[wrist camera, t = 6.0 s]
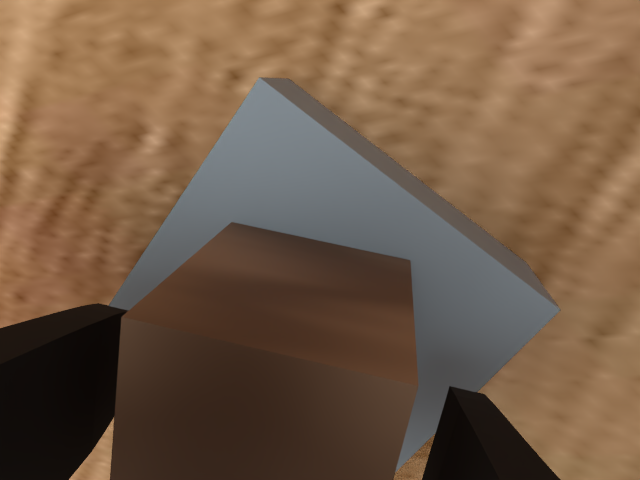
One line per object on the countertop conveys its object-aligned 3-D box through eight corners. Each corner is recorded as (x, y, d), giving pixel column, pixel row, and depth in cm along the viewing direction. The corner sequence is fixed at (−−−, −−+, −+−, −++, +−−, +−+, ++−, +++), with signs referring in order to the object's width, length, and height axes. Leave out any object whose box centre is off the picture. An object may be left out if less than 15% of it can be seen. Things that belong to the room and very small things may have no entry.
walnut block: (410, 259, 12) (418, 386, 7) (372, 415, 13) (357, 613, 8) (231, 221, 12) (121, 316, 7) (211, 376, 13) (105, 545, 8)
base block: (523, 259, 15) (560, 309, 12) (347, 444, 17) (336, 530, 14) (291, 78, 14) (259, 77, 11) (143, 295, 17) (80, 347, 13)
